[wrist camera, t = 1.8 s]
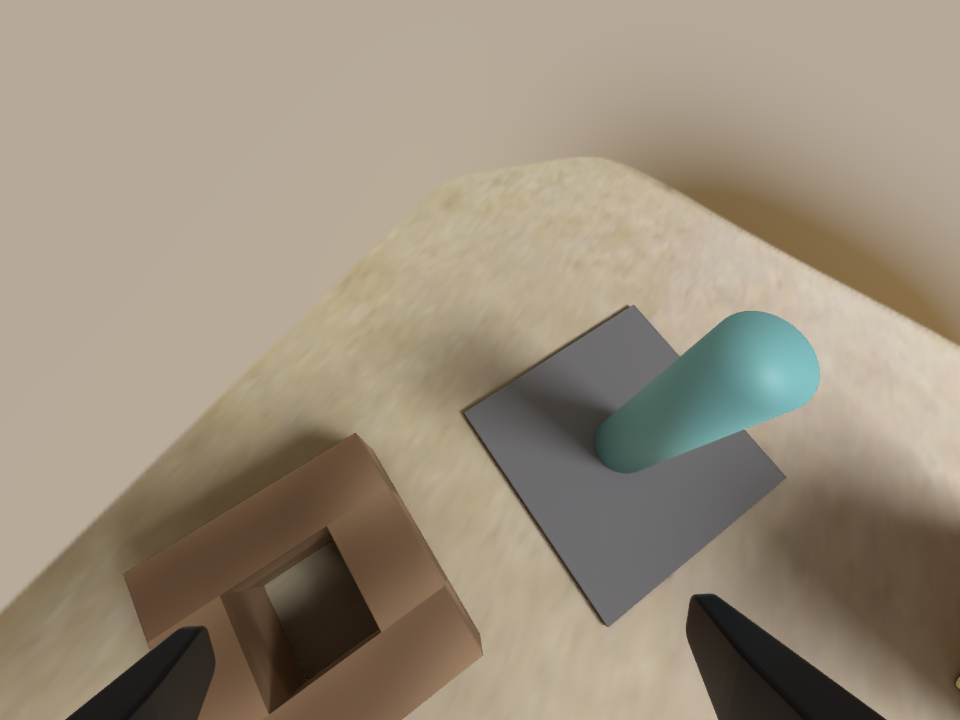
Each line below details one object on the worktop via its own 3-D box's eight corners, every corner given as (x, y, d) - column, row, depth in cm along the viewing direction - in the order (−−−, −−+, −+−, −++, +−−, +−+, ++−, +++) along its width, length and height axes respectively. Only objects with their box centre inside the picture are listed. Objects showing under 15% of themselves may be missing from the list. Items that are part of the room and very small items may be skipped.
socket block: (479, 633, 20) (482, 655, 17) (273, 794, 18) (224, 860, 14) (372, 449, 23) (355, 432, 20) (183, 567, 21) (123, 573, 17)
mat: (782, 477, 23) (786, 477, 23) (606, 626, 21) (608, 627, 20) (631, 306, 27) (633, 304, 27) (464, 413, 24) (464, 412, 24)
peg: (663, 452, 23) (842, 374, 12) (619, 485, 23) (767, 433, 12) (625, 406, 24) (761, 293, 13) (582, 436, 24) (687, 344, 12)
